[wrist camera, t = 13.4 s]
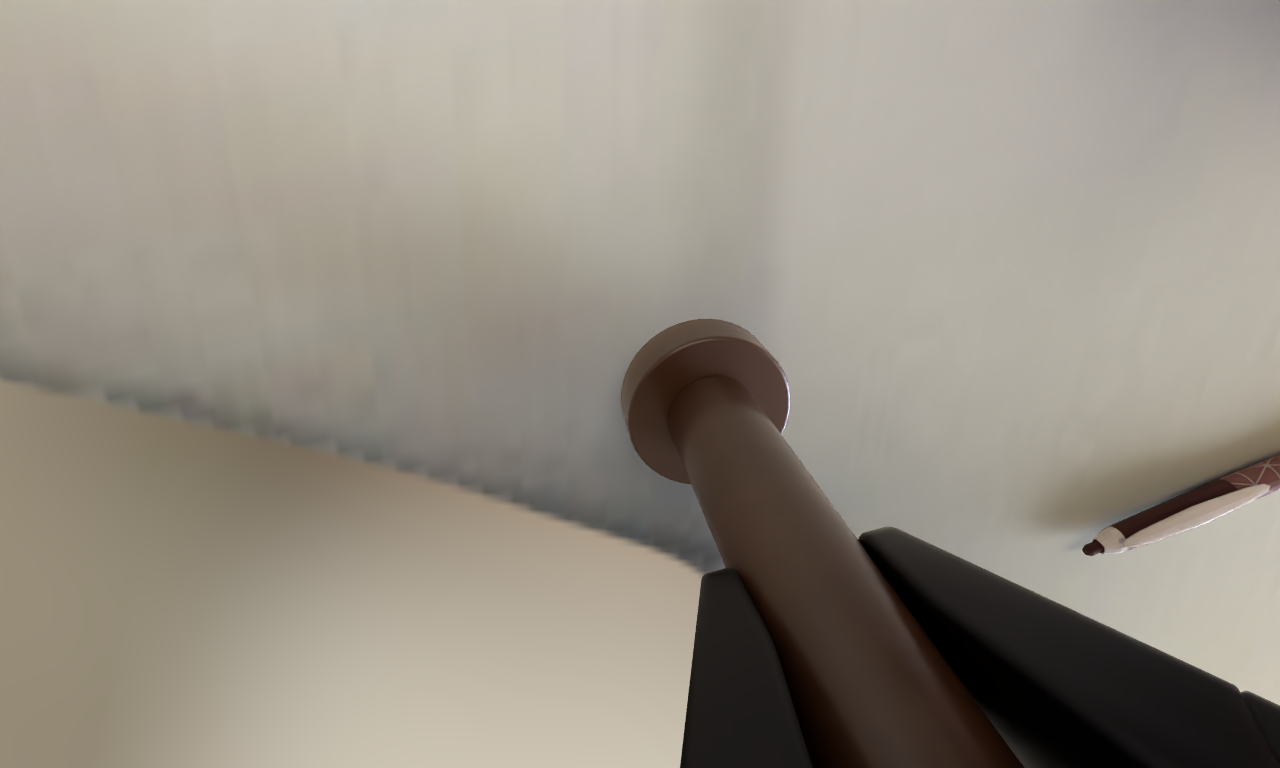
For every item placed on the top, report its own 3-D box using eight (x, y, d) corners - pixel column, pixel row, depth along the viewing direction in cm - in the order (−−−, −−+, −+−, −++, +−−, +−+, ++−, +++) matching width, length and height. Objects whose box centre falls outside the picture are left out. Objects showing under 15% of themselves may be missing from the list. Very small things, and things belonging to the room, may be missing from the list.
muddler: (756, 295, 11) (2165, 1581, 2) (784, 429, 13) (1639, 1566, 3) (600, 348, 11) (1072, 2027, 2) (645, 476, 13) (1048, 1802, 3)
